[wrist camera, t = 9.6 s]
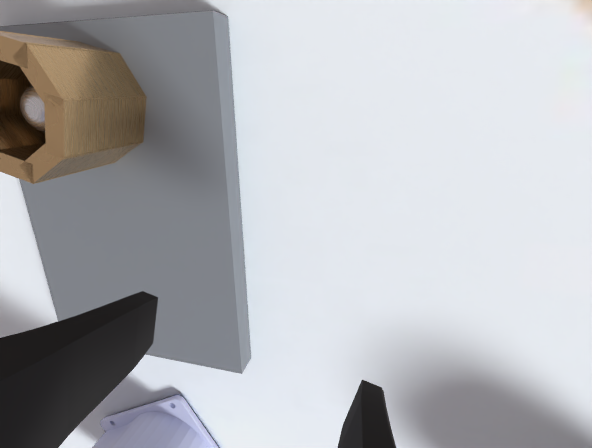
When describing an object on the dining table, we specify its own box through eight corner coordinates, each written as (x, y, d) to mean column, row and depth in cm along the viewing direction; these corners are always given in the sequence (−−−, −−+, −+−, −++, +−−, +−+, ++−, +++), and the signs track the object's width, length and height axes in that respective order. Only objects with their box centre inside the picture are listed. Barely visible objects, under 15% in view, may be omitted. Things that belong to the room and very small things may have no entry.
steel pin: (98, 134, 20) (29, 145, 17) (75, 97, 20) (-2, 100, 16) (124, 113, 19) (58, 120, 16) (100, 74, 19) (25, 71, 15)
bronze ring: (97, 176, 21) (12, 200, 17) (36, 85, 20) (-70, 84, 16) (165, 126, 19) (89, 138, 14) (100, 21, 18) (-2, -1, 13)
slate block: (250, 357, 25) (241, 373, 23) (79, 325, 28) (62, 337, 27) (227, 16, 18) (212, 10, 16) (5, 31, 21) (-23, 28, 20)
